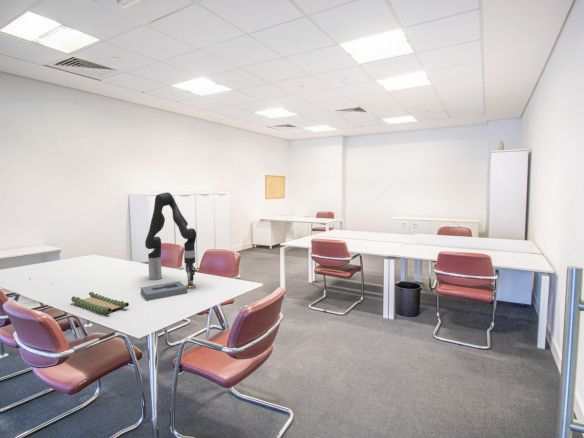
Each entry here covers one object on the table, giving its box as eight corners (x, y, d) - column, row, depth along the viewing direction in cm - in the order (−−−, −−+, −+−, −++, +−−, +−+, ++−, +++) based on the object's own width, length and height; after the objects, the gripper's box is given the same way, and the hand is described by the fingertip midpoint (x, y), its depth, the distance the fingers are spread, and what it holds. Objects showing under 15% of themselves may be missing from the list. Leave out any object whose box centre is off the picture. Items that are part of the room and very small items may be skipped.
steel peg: (184, 287, 236) (184, 271, 235) (193, 285, 240) (193, 269, 239) (187, 289, 231) (187, 272, 230) (196, 287, 235) (196, 271, 234)
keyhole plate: (140, 293, 223) (140, 287, 222) (179, 286, 238) (179, 281, 237) (146, 300, 208) (146, 294, 208) (187, 293, 223) (187, 287, 223)
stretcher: (130, 309, 193) (130, 301, 193) (106, 318, 181) (105, 309, 181) (93, 297, 214) (93, 290, 214) (69, 304, 202) (69, 296, 202)
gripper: (181, 255, 237) (182, 278, 239) (187, 258, 225) (188, 282, 227) (191, 254, 241) (192, 276, 243) (198, 257, 230) (199, 281, 231)
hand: (190, 279), depth 235 cm, fingers open, 5 cm apart
